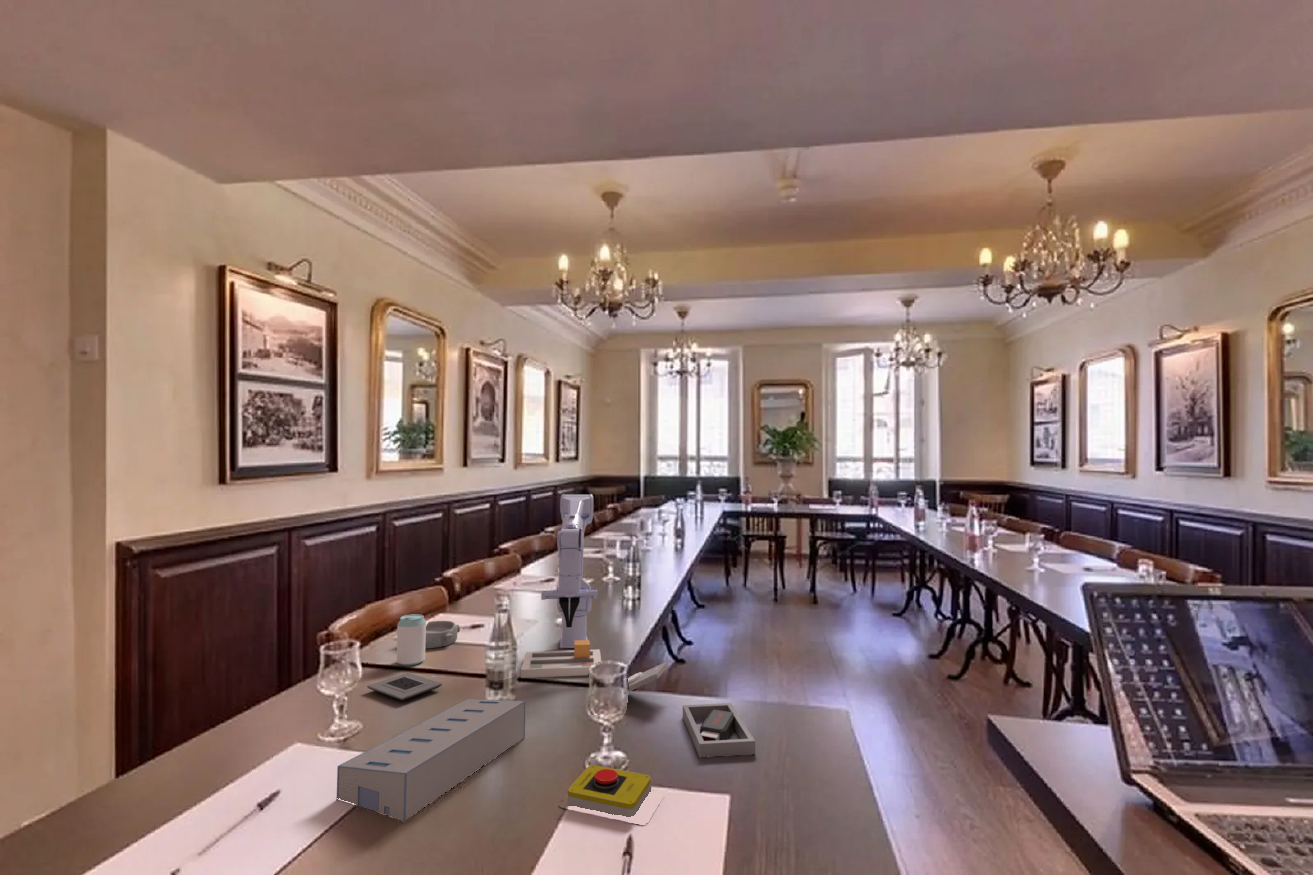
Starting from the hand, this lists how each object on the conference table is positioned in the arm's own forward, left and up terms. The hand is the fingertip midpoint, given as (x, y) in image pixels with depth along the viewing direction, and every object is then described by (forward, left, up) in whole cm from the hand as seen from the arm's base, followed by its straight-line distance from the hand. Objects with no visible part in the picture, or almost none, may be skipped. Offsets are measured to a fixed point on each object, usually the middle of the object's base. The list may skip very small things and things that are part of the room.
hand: (569, 626), depth 159 cm
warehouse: (+49, -22, -11) cm, 55 cm away
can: (-8, -42, -11) cm, 44 cm away
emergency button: (+64, +7, -11) cm, 65 cm away
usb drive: (+43, +29, -10) cm, 53 cm away
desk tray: (+43, +29, -10) cm, 53 cm away
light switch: (+24, +15, -11) cm, 30 cm away
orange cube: (0, +4, -8) cm, 9 cm away
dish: (-25, -40, -11) cm, 48 cm away
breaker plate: (0, -2, -10) cm, 11 cm away
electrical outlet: (+13, -38, -11) cm, 41 cm away
